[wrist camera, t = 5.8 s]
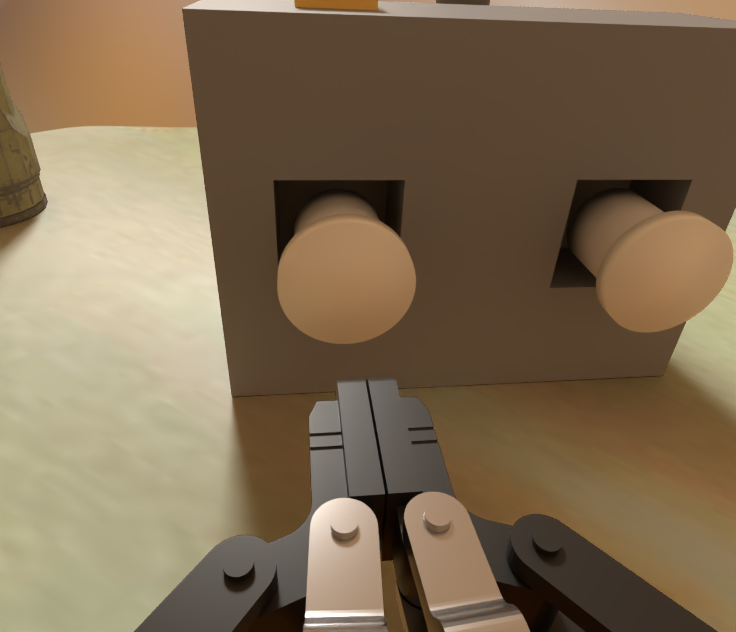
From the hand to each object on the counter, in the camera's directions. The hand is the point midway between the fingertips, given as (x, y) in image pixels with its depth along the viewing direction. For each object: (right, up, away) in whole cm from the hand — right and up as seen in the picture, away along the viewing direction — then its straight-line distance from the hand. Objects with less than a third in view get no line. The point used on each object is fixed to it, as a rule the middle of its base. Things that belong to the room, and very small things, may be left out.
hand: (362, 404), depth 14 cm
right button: (+11, +3, +10) cm, 15 cm away
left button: (-1, +3, +8) cm, 8 cm away
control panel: (+4, +1, +16) cm, 17 cm away
